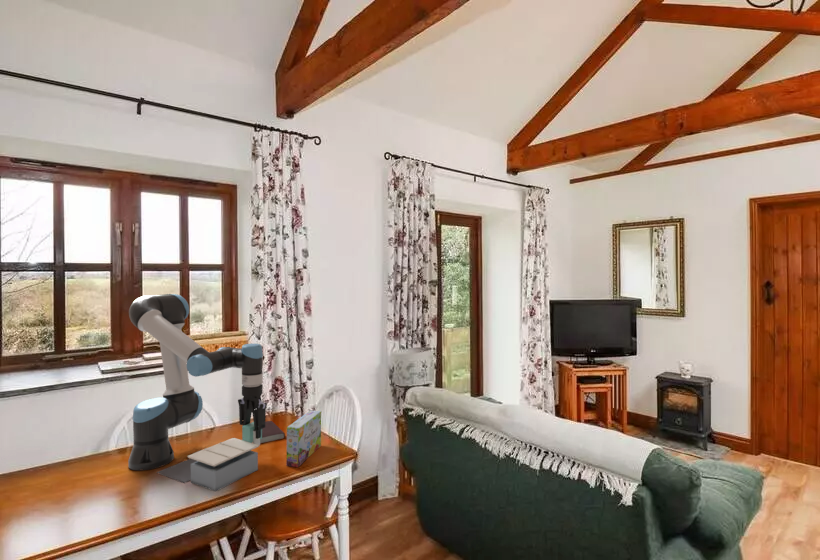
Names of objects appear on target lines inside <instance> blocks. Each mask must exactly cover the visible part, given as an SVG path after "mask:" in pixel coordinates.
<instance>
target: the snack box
mask: <svg viewBox="0 0 820 560" xmlns="http://www.w3.org/2000/svg"><path fill="white" fill-rule="evenodd" d="M321 446H322V410H308V411H307V412H306V413H304V414H303V415H302V416H301V417H299V418H298V419H297V420H295V421H294V422H293V423H292V422H291V424H289V425H288V426H287V427H286V463H285V464H286V465H285V466H286V467H295V468H299V467H300V466H301V465H303V463H304V462H305V461H306V460H307V459H308V458H310V456H312V455H313V454H314V453H315V452H316V451H317V450H318V449H319V448H320V447H321Z"/></svg>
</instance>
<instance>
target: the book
mask: <svg viewBox="0 0 820 560" xmlns="http://www.w3.org/2000/svg"><path fill="white" fill-rule="evenodd" d="M285 434H286V433H285V432H284V431H283V430H282V429H281V428H280V427H279V426H278V425H276V423H275V422H273V421H272V420H265V428H263V429H262V439H260V444H262V443H263V444H264V443H267V442H273V441H276V440H281V439H284V438H286V437H285V436H286V435H285Z"/></svg>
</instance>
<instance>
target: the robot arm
mask: <svg viewBox="0 0 820 560" xmlns="http://www.w3.org/2000/svg"><path fill="white" fill-rule="evenodd" d="M189 314H190V306H189V303H188V301H187V300H186V298H185V297H183V296H182V295H180V294H177V293H165V294H151V295H149V294H147V295H146V294H145V295H142V296H140V297H137V298H136V299H135V300H134V301H133V302H132V303H131V305H130V307H129V309H128V316H129V319H130V322H131V323H132V324H133V326H135V328H137V329H138V330H139V331H141V332H144V333H148V334H150V335H151V336H152V337H153V338H154V339H155V340H157V341H158V342H159V347H160V354H161V360H162V369H163V376H164V381H165V383H164V384H165V391H164V392H163V394H162V397H153V398H149V399H146V400H145V399H144V400H143V401H141V402H138V404H136V405H135V406H134V408H133V411H132V413H133V414H132V425H133V426H132V430H133V433H132V434H133V435H132V436H133V438H132V439H133V446H132V449H131V451H130V455H129V458H128V461H127V462H128V468H129V469H130V470H133V471H148V470H153V469H154V470H155V469H158V468H160V467H164V466H166V465H168V464H170V463H171V462H172V461H173V460H174V458H175V456H174V455H175V454H174V450H173V447H172V444H171V443H170V442H171V441H170V440H169V430H170V429H173V428H175V427H178V426H180V425H183V424H185V423H189V422H191V421H193V420H195V419H196V418H198V417H199V415H200V414H201V413H202V410H203V406H204V405H203V403H204V402H203V397H202V396H201V395H200V393H199V392H198V391H196V390H195V387H194V386H192V385H191V384H190V380H189V375H191V376H192V377H195V378H196V377H201V376H202V377H203V376H207V375H210V374H212V373H213V374H214V373H216V372H220V371H223V370H227V369H231V368H232V369H233V368H235V369H241V385H242V386H241V396H243V397H242V398H239V399H237V403H238V411H239V413H238V416H239V420H238V421H239V425H240V426H244V425H247V424H249V423H251V419H253V421H252V422H254V428H255V429H254V430H253V443H254V444H257V445H259V446H261V443H260V438H261V429H263V428H265V422H266V418H267V417H266V415H267V413H266V410H267V407H268V403H267V402H263V401H262V397H261V396H262V395H263V392H264V391H263V387H264V386H263V383H264V381H263V380H264V379H263V377H264V376H263V361H264V359H263V358H264V357H263V356H264V354H263V353H264V352H263V346H262V344H260V343H245V344H242V346H241V348H240V347H230V346H227V347H225V346H221V347H219V348H218V349H217V350H214V351H208V350H207V349H205V348H204V347H203V346H201V345H200V344H199V343H197V342H196V341H195V340H193V338H192V337H190V336H189V335H187V334H186V333H185V332H183V331H182V329H183V327H184V326H185V324H186V323H185V320H186V319H187V318H188V316H189Z"/></svg>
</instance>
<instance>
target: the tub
mask: <svg viewBox="0 0 820 560" xmlns="http://www.w3.org/2000/svg"><path fill="white" fill-rule="evenodd" d="M258 454H259V453H258V452H257V451H254V450H250V451H248V452H246V453H244V454H241V455H239V456H237V457H235V458H232V459H230V460H228V461H226V462H223V463H221V464H219V465H217V466H221V467H222V468H220V469H218V470H216V471H215V470H212V469H213V468H215V467H217V466H211V465H208V464H205V463H202V462H199V461H196V462H194V463H192V464H191V480H190V483H192V484H194V485H197V486H200V487H202V488H205V489H209V490H211V491H213V492H217V491H219V490H221V489H223V488H225V487H227V486H229V485H231V484H232V483H235V482H237V481H238V480H240V479H242V478H245V477H247V476H249V475H251V474H252V473H254V472H256V471H258V470H259V457H258V456H259V455H258Z"/></svg>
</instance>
